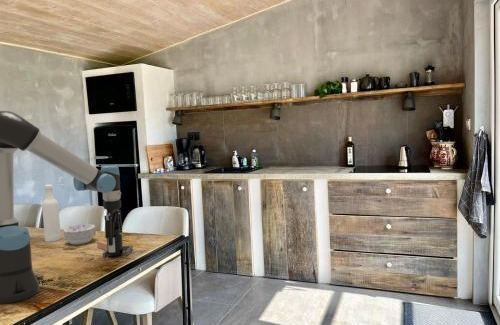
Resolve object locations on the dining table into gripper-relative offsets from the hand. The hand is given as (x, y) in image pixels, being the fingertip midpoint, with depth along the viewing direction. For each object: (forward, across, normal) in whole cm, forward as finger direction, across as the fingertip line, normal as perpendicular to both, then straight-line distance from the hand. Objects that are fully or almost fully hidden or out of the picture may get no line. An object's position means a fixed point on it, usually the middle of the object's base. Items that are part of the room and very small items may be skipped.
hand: (115, 249), depth 177 cm
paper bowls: (+3, +24, +28) cm, 37 cm away
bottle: (+3, +31, +46) cm, 55 cm away
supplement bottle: (+2, 0, 0) cm, 2 cm away
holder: (+3, +6, +4) cm, 8 cm away
